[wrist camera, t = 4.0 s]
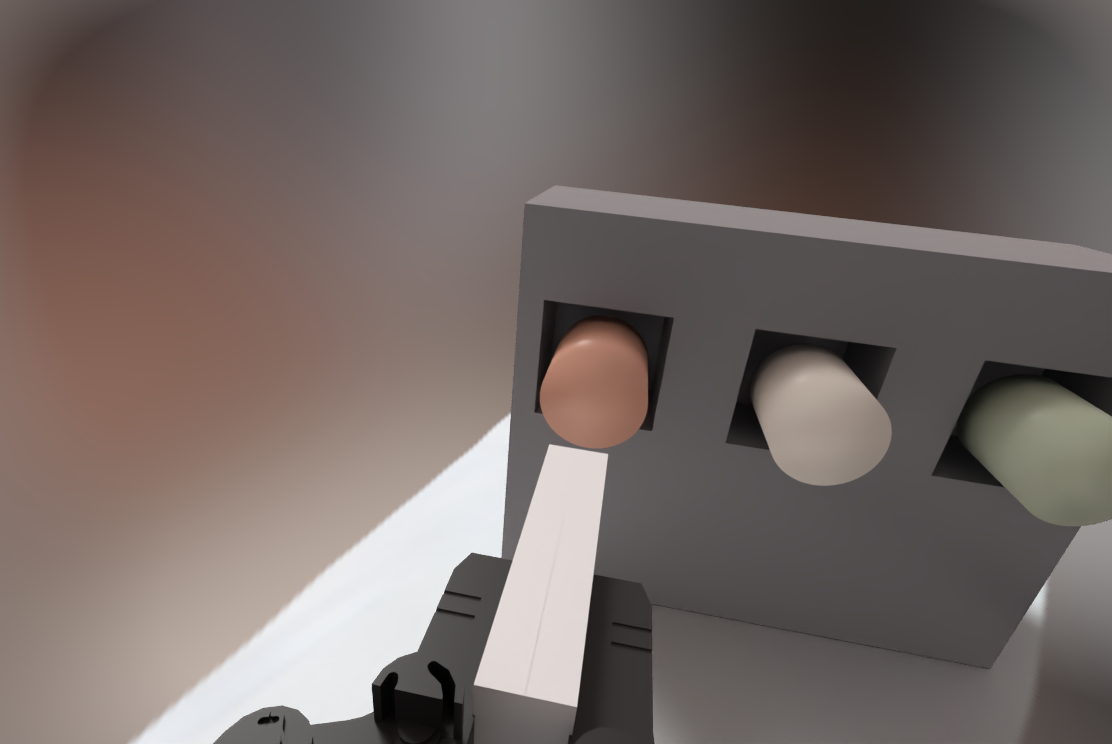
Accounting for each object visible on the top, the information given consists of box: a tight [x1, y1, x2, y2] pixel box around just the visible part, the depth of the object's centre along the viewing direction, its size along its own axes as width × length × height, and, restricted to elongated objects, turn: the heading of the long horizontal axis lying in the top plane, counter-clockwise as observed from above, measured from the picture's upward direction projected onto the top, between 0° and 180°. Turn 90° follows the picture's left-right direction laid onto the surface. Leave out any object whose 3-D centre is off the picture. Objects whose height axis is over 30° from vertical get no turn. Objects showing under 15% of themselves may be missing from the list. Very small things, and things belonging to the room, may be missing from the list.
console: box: [502, 186, 1112, 669], centre depth 25 cm, size 23×7×18 cm, turn 81°
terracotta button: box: [540, 315, 648, 448], centre depth 21 cm, size 4×4×4 cm
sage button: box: [956, 374, 1112, 526], centre depth 19 cm, size 4×4×4 cm
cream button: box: [750, 343, 892, 486], centre depth 20 cm, size 4×4×4 cm
